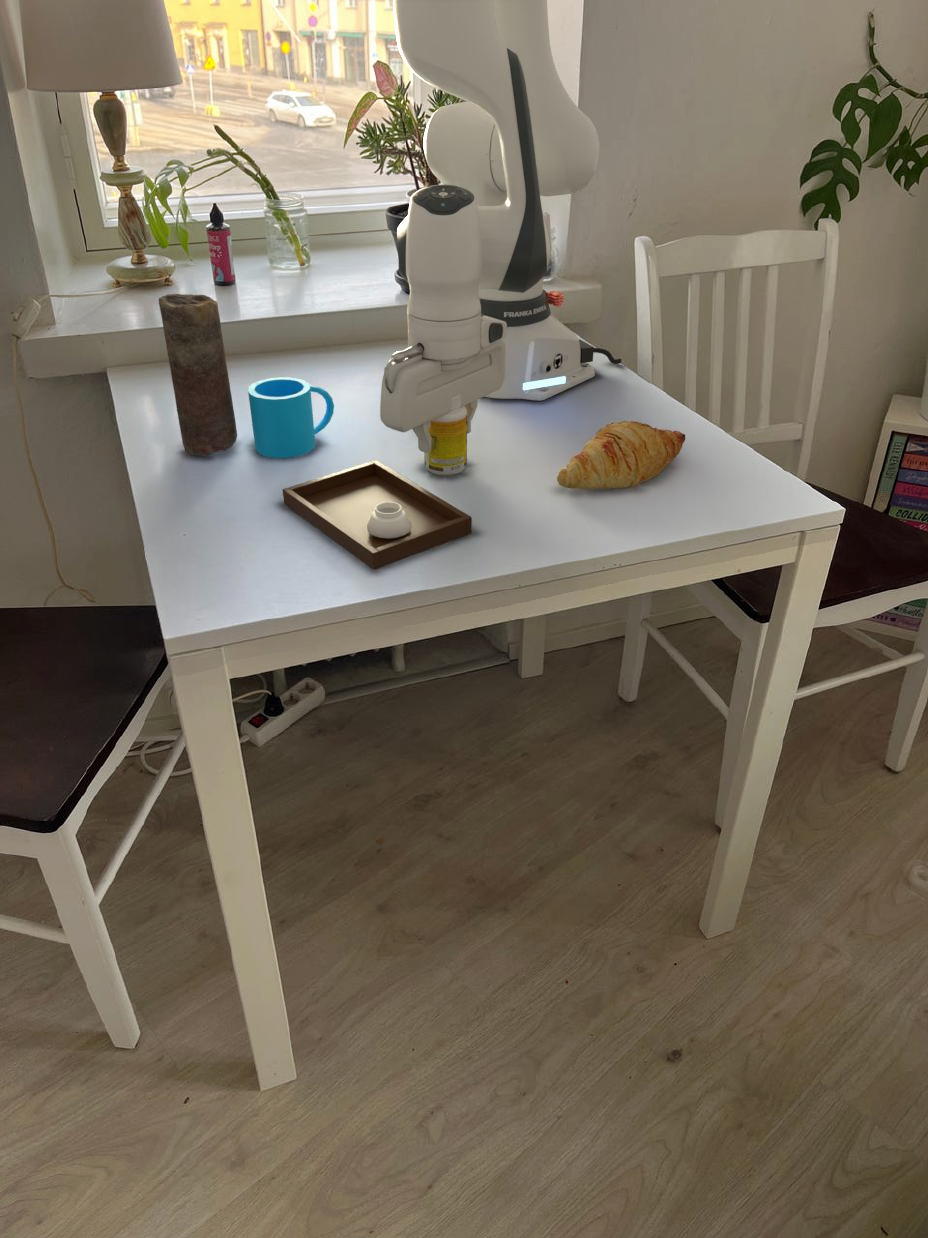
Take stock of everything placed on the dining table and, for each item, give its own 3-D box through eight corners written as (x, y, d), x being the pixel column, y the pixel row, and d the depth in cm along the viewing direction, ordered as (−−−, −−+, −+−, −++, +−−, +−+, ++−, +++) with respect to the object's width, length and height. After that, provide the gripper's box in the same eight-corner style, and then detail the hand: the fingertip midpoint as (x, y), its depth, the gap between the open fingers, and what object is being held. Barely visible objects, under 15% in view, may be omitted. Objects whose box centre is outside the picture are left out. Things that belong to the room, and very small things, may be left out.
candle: (188, 435, 134) (163, 289, 123) (241, 434, 135) (221, 288, 124) (179, 458, 128) (152, 306, 117) (235, 457, 128) (214, 305, 117)
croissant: (571, 526, 120) (595, 486, 113) (527, 467, 123) (548, 424, 116) (690, 479, 130) (719, 440, 123) (647, 425, 133) (672, 384, 127)
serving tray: (376, 474, 124) (376, 459, 123) (471, 532, 111) (472, 516, 110) (283, 504, 117) (282, 488, 116) (374, 570, 104) (372, 553, 103)
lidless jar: (407, 518, 113) (364, 522, 112) (406, 495, 111) (363, 500, 110) (414, 538, 109) (370, 543, 108) (414, 515, 107) (369, 520, 106)
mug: (273, 463, 127) (266, 404, 122) (244, 443, 132) (236, 385, 128) (350, 441, 133) (346, 383, 128) (320, 422, 138) (315, 367, 134)
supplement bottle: (474, 472, 125) (474, 396, 119) (435, 480, 123) (433, 403, 117) (455, 455, 129) (455, 382, 123) (417, 463, 127) (415, 388, 121)
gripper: (405, 362, 108) (408, 475, 116) (515, 320, 121) (512, 424, 129) (364, 350, 111) (371, 461, 119) (476, 310, 124) (475, 412, 132)
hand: (445, 441), depth 124 cm, fingers closed on supplement bottle, 5 cm apart
